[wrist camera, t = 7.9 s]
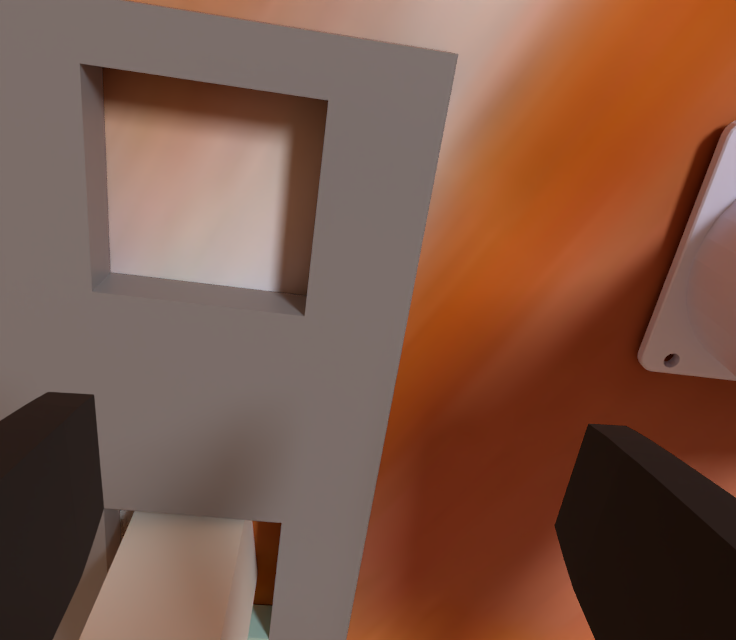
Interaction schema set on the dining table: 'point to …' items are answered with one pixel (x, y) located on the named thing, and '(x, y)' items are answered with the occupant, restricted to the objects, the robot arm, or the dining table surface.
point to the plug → (178, 581)
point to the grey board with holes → (218, 290)
